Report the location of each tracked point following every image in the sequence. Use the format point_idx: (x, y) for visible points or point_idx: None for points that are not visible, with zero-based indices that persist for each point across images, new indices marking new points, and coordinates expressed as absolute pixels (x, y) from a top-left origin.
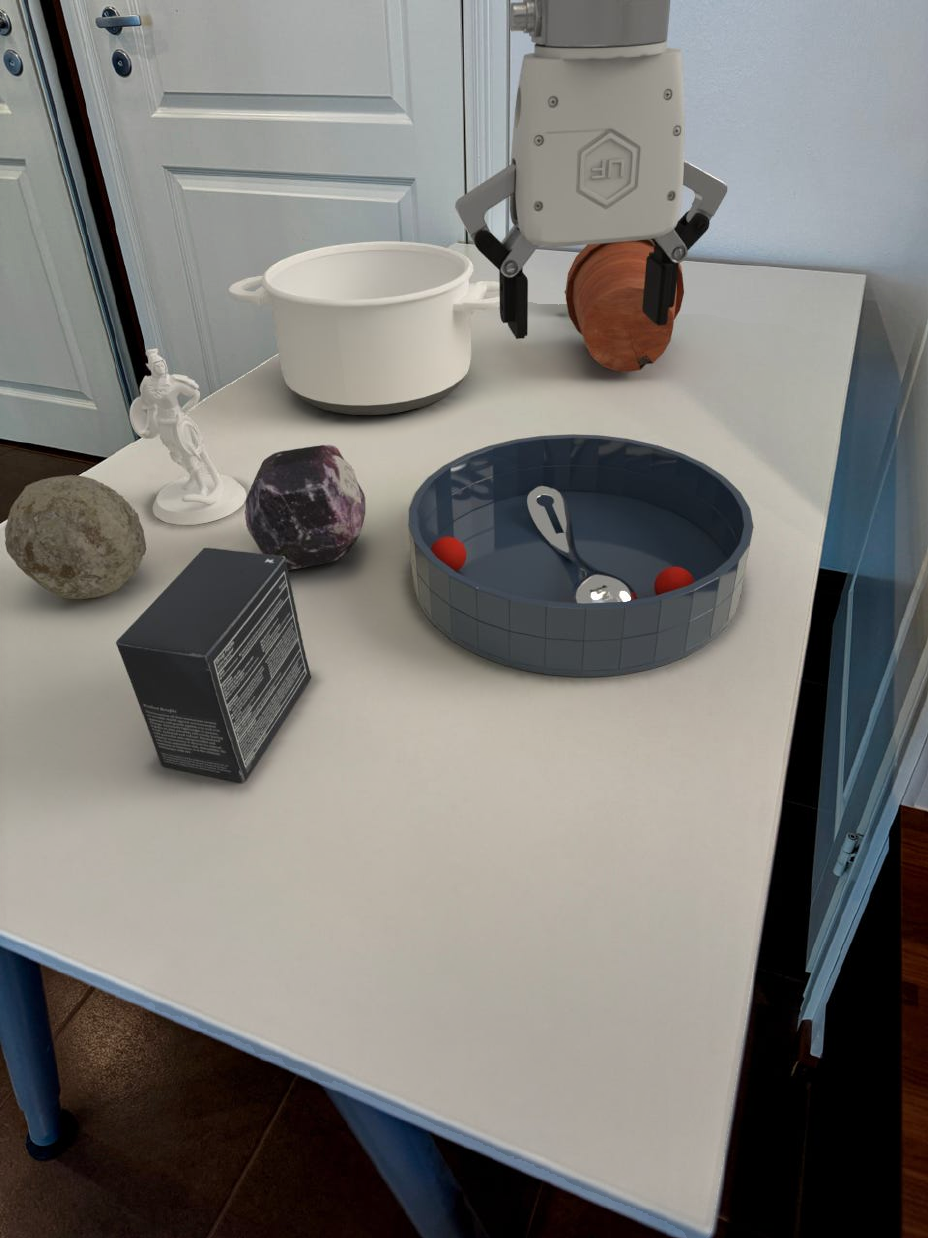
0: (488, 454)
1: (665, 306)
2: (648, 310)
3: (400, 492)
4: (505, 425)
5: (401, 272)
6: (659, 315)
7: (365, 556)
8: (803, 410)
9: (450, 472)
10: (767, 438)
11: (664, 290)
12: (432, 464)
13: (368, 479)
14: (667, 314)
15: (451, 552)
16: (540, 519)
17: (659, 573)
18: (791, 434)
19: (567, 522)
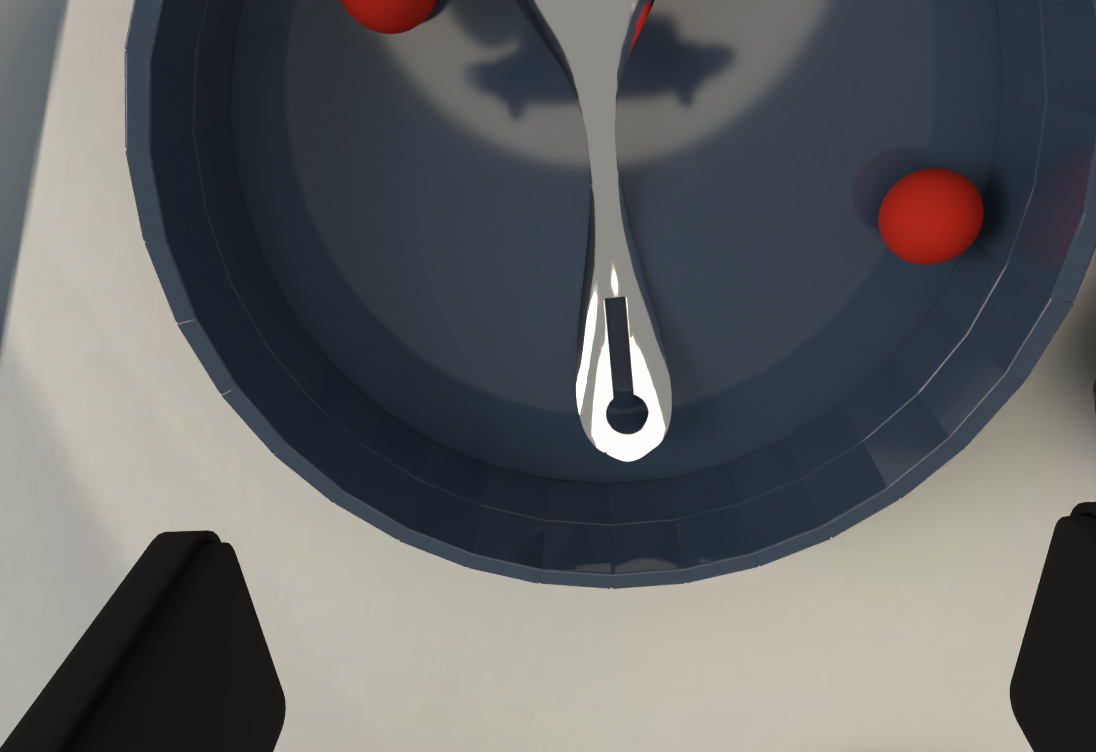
0: (763, 539)
1: (128, 601)
2: (252, 668)
3: (915, 541)
4: (625, 733)
5: None
6: (190, 570)
7: (1075, 312)
8: (3, 688)
9: (884, 476)
10: (87, 607)
11: (86, 693)
12: (815, 628)
13: (969, 598)
14: (137, 566)
15: (941, 190)
16: (651, 353)
17: (419, 7)
18: (35, 613)
19: (588, 336)
